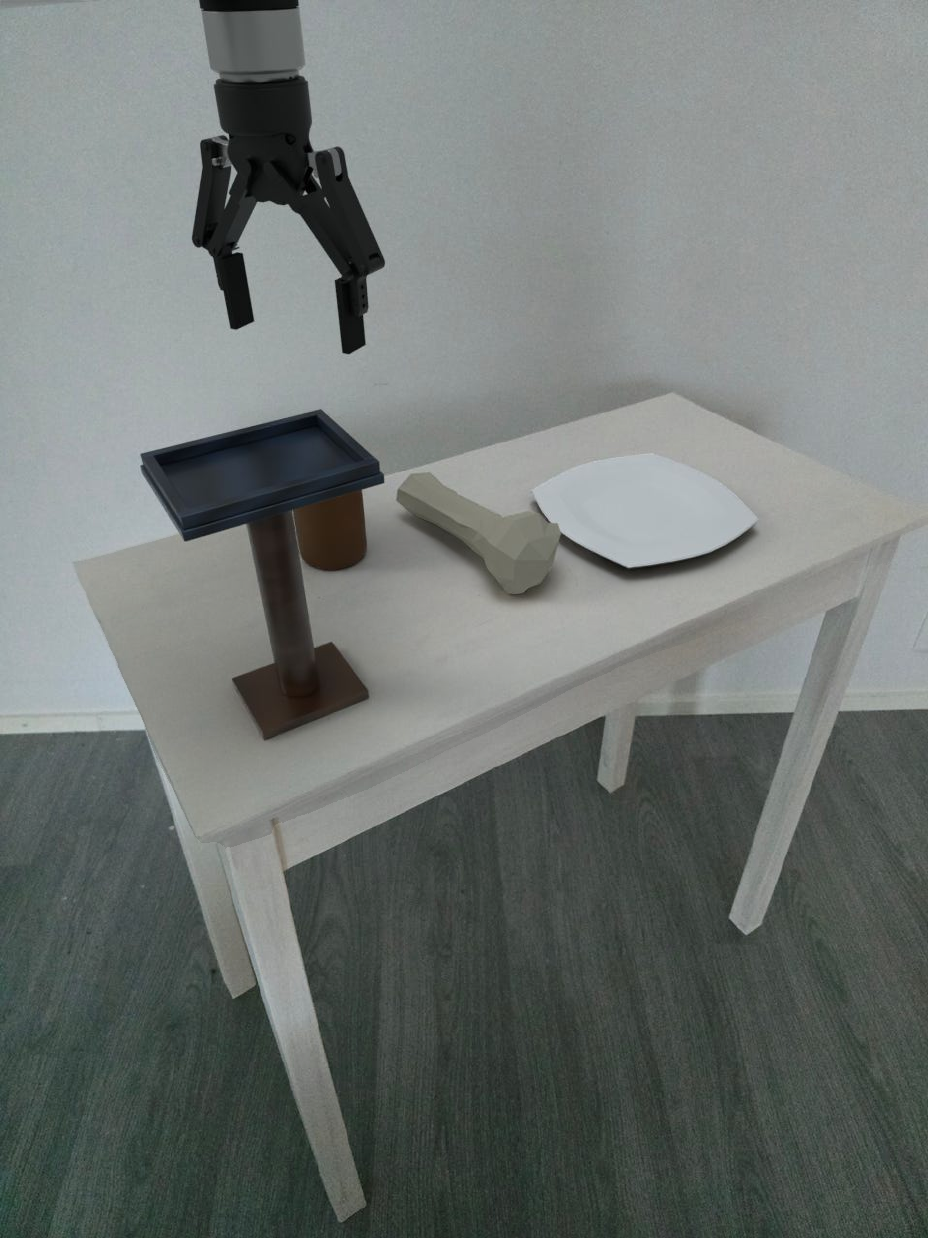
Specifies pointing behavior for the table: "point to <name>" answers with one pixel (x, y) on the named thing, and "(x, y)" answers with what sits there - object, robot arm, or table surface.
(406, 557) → the table surface
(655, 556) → the plate
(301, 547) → the mug
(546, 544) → the faceted club
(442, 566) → the table surface
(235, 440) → the pedestal tray stand
